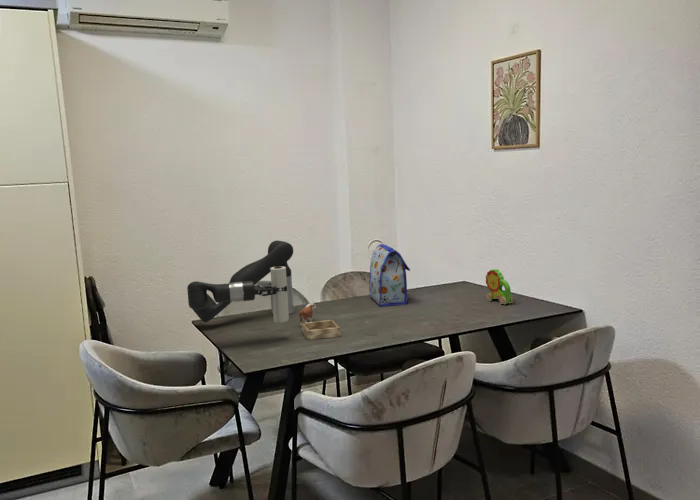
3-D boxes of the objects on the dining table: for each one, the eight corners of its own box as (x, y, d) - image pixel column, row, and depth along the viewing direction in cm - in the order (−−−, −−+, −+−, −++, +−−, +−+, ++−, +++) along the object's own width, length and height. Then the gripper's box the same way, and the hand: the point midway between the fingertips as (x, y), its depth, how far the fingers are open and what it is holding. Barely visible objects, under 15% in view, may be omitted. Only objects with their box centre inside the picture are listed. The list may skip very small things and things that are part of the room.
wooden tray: (307, 340, 240) (307, 331, 240) (301, 331, 252) (301, 323, 252) (340, 336, 243) (340, 327, 243) (332, 328, 256) (332, 319, 255)
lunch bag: (413, 304, 292) (411, 248, 288) (379, 307, 288) (377, 250, 284) (398, 294, 314) (397, 242, 310) (367, 297, 310) (365, 244, 306)
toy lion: (513, 304, 283) (513, 271, 281) (504, 306, 281) (504, 273, 279) (492, 298, 298) (491, 267, 296) (482, 299, 296) (482, 268, 293)
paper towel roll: (283, 317, 248) (279, 265, 244) (292, 320, 243) (289, 266, 240) (268, 321, 243) (264, 268, 239) (277, 324, 238) (273, 269, 235)
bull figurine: (318, 319, 271) (317, 301, 269) (306, 327, 258) (305, 308, 257) (309, 319, 272) (308, 301, 271) (296, 327, 259) (295, 308, 258)
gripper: (240, 297, 245) (283, 293, 249) (243, 305, 231) (289, 300, 236) (239, 278, 244) (282, 274, 248) (242, 285, 230) (288, 281, 235)
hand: (285, 287), depth 242 cm, fingers closed on paper towel roll, 3 cm apart
